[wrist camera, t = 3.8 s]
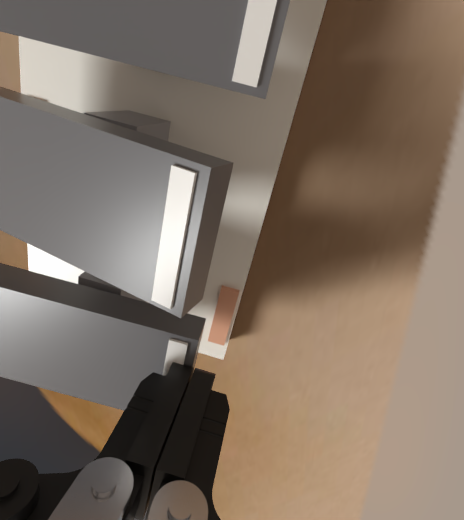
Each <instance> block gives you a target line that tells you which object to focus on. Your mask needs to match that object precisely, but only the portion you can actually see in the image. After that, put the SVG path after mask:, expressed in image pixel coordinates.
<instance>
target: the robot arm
mask: <svg viewBox="0 0 464 520" xmlns="http://www.w3.org/2000/svg"><path fill="white" fill-rule="evenodd" d="M193 370H194V367H191V366H188V365H184V364H183V365H182V364H179V363H175V362H173V363H172V364H171V366H170V368H169V370H168V373H167V375H166V376H164V375H161V374H158V373H154V372H153V373H151V374H150V375H149V376H147V377H146V378H145V379H144V380H142V381H141V382H140V384H139V386H138V388H137V389H136V391H135V393H134V395H133V397H132V398H131V400H130V402H129V403H128V405H127V408H126V409H125V411H124V412H123V414H122V416H121V418H120V419H119V421H118V423H117V425H116V427H115V428H114V430H113V432H112V434H111V435H110V437H109V439H108V441H107V443H106V444H105V446H104V448H103V450H102V451H101V453H100V454H99V456H98V457H97V458H96V459H95V460H94V461H93V462H91V463H90V464H88V465H87V466H86V467H84V468H82V469H79V470H77V471H74V472H69V473H57V474H55V473H53V474H38V470H37V469H36V467H35V466H34V465H33V464H32V463H30V462H29V461H27V460H24V459H8V460H4V461H1V462H0V520H134V518H136V519H139V520H143V518H144V516H145V513H146V510H147V507H148V510H147V514H146V519H145V520H220V518H219V516H218V515H217V513H216V511H215V508H214V505H213V500H212V488H213V483H214V478H215V474H216V469H217V465H218V460H219V455H220V451H221V446H222V442H223V437H224V433H225V428H226V423H227V419H228V414H229V410H230V409H229V405H228V400H227V396H226V394H222V393H219V392H216V391H213V390H211V389H212V385H213V382H214V378H215V375H216V374H214V373H211V372H207V371H204V370H201V369H198V368H195V370H194V372H193ZM192 374H193V375H192Z"/></svg>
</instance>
